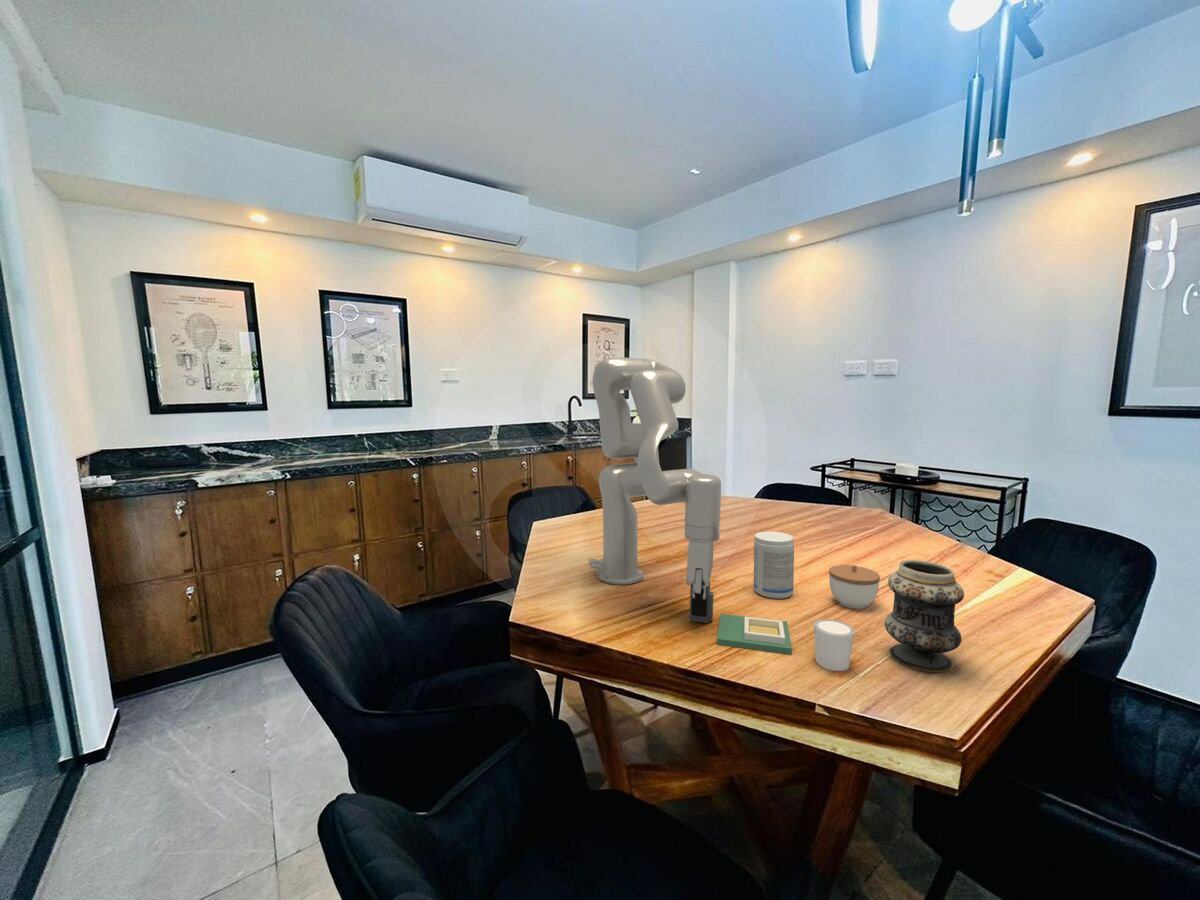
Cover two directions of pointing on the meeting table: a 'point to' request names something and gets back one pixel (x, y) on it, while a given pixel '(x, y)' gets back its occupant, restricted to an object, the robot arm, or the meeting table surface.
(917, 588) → the apothecary jar
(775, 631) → the board
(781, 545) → the supplement tub
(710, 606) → the plug
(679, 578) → the meeting table surface
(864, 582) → the lidded jar
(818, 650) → the white cylinder
